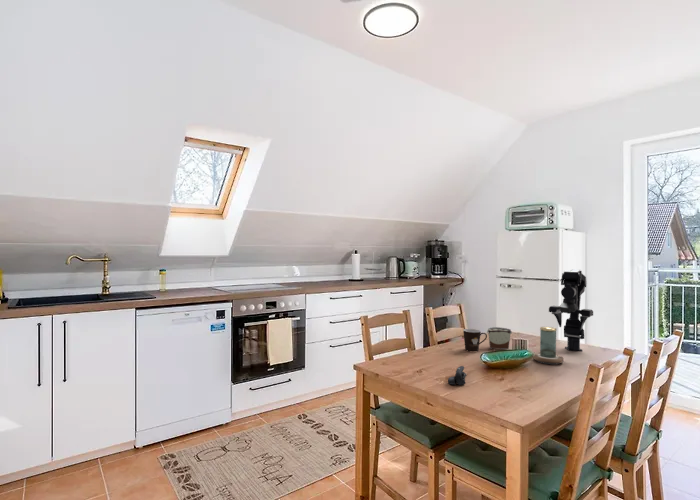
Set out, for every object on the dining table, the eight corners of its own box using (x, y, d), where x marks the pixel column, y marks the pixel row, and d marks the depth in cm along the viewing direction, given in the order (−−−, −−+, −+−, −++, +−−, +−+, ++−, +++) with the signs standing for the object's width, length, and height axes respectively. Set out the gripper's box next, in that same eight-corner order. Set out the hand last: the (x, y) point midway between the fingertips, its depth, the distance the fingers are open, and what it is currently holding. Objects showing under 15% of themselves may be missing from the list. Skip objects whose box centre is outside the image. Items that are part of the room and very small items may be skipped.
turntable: (529, 354, 202) (529, 351, 202) (557, 356, 200) (557, 353, 200) (537, 362, 189) (537, 359, 189) (568, 363, 187) (568, 360, 187)
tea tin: (539, 353, 199) (540, 326, 199) (555, 355, 196) (556, 327, 196) (539, 357, 193) (540, 328, 193) (556, 358, 190) (556, 330, 190)
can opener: (465, 388, 157) (465, 373, 157) (446, 386, 160) (446, 371, 160) (471, 375, 173) (471, 361, 173) (454, 373, 176) (454, 359, 176)
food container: (508, 346, 223) (508, 327, 223) (511, 349, 217) (511, 329, 217) (484, 345, 224) (484, 326, 224) (487, 348, 218) (487, 329, 218)
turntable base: (533, 358, 200) (533, 356, 200) (555, 359, 199) (555, 357, 199) (539, 363, 190) (539, 362, 190) (563, 365, 189) (563, 363, 189)
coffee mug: (462, 351, 211) (463, 331, 211) (463, 347, 219) (463, 328, 219) (487, 353, 208) (487, 333, 208) (486, 349, 216) (487, 329, 216)
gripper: (544, 296, 207) (544, 327, 207) (586, 299, 193) (585, 333, 194) (553, 294, 215) (552, 325, 215) (593, 298, 201) (593, 330, 201)
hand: (570, 328), depth 206 cm, fingers open, 9 cm apart
